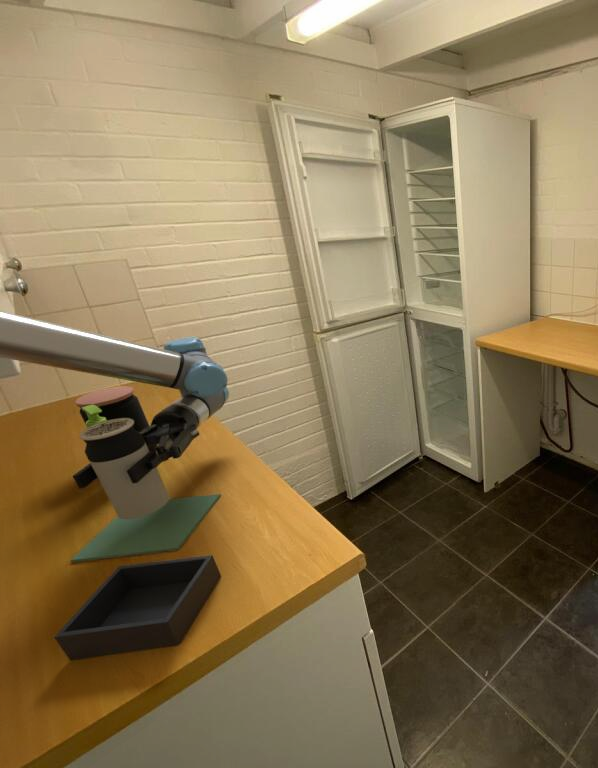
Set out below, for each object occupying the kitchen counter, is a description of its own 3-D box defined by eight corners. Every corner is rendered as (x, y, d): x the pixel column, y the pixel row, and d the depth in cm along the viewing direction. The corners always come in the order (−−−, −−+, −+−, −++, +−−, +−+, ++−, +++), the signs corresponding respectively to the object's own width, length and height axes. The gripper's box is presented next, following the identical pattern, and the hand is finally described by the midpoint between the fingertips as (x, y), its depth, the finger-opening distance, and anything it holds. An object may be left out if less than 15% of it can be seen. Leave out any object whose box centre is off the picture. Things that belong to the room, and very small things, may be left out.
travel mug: (173, 505, 82) (138, 426, 75) (121, 527, 77) (77, 444, 70) (166, 488, 87) (131, 412, 80) (116, 508, 82) (75, 428, 75)
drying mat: (71, 562, 76) (69, 560, 76) (132, 505, 90) (131, 502, 90) (178, 550, 78) (177, 547, 78) (221, 495, 92) (220, 493, 92)
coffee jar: (94, 468, 104) (61, 403, 97) (135, 445, 114) (108, 385, 106) (131, 470, 102) (101, 405, 95) (170, 447, 112) (144, 386, 105)
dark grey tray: (69, 660, 59) (53, 637, 57) (130, 587, 70) (118, 566, 68) (179, 645, 61) (167, 622, 59) (221, 576, 72) (212, 554, 70)
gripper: (234, 429, 97) (176, 490, 76) (137, 437, 95) (50, 503, 74) (224, 400, 94) (161, 455, 73) (123, 408, 92) (29, 468, 71)
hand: (105, 479), depth 74 cm, fingers closed on travel mug, 8 cm apart
